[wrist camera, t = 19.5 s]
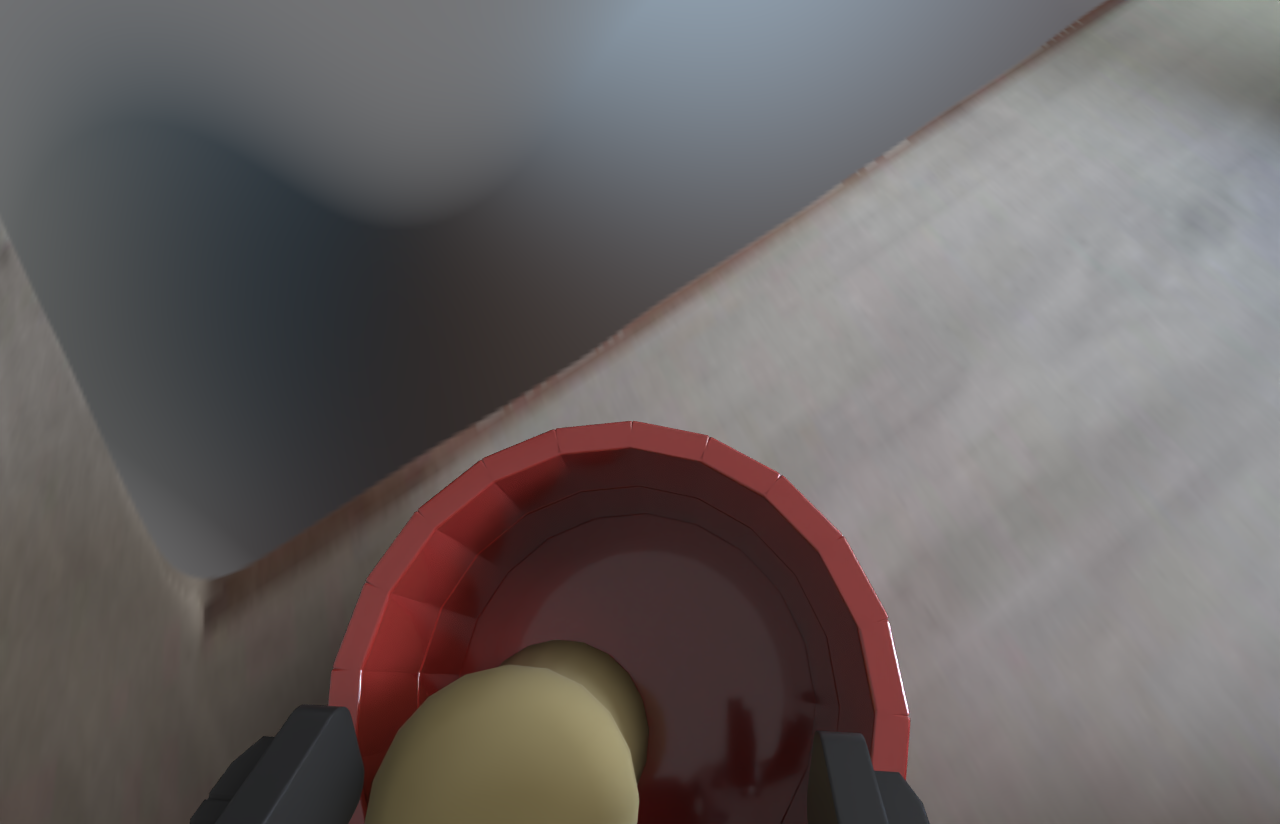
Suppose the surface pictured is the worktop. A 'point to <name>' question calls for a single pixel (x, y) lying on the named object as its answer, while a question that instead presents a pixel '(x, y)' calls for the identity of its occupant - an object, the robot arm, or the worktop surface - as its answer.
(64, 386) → the worktop surface
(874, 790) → the robot arm
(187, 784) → the worktop surface
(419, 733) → the cork
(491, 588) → the pot
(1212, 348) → the worktop surface
